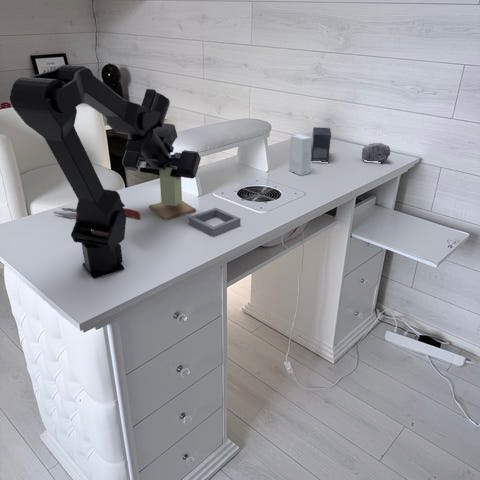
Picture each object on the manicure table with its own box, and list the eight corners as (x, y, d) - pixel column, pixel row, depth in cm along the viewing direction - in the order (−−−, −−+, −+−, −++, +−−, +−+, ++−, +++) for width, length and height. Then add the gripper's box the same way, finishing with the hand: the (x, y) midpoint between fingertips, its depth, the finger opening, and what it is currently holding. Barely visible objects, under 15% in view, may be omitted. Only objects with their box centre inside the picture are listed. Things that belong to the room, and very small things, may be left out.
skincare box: (310, 173, 145) (313, 137, 139) (299, 176, 143) (303, 139, 137) (297, 168, 149) (300, 133, 144) (287, 171, 147) (290, 135, 142)
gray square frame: (213, 236, 103) (213, 229, 102) (188, 224, 108) (188, 217, 107) (240, 225, 108) (240, 218, 108) (215, 214, 114) (215, 207, 113)
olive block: (175, 206, 113) (173, 168, 108) (161, 204, 114) (159, 166, 109) (182, 200, 116) (180, 164, 112) (168, 198, 117) (166, 162, 113)
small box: (310, 154, 165) (312, 126, 160) (327, 155, 164) (330, 127, 160) (310, 162, 156) (313, 133, 151) (328, 164, 155) (332, 134, 150)
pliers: (73, 206, 118) (72, 196, 117) (142, 219, 112) (141, 209, 110) (41, 224, 108) (39, 214, 107) (115, 239, 102) (114, 228, 100)
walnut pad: (165, 219, 110) (165, 217, 110) (149, 208, 117) (148, 205, 116) (195, 211, 115) (195, 209, 115) (178, 201, 122) (178, 198, 121)
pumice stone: (364, 162, 166) (356, 161, 158) (369, 141, 164) (361, 139, 156) (392, 166, 161) (385, 165, 152) (397, 145, 159) (390, 143, 151)
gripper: (197, 117, 98) (214, 153, 113) (123, 111, 103) (149, 145, 118) (183, 161, 95) (203, 192, 110) (108, 152, 100) (137, 182, 115)
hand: (172, 176), depth 113 cm, fingers closed on olive block, 4 cm apart
